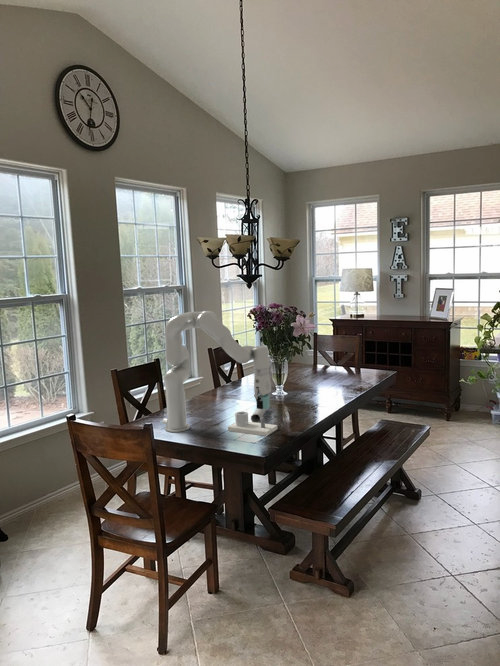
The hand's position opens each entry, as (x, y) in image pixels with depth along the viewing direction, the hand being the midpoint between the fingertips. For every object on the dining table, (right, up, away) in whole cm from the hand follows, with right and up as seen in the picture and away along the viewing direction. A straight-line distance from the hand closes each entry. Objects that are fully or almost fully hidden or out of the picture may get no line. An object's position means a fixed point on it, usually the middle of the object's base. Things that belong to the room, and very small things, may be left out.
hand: (263, 406), depth 269 cm
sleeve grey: (-11, -10, +7) cm, 16 cm away
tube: (-1, -10, +28) cm, 30 cm away
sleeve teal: (0, 0, 0) cm, 0 cm away
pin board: (-5, -12, +5) cm, 14 cm away
